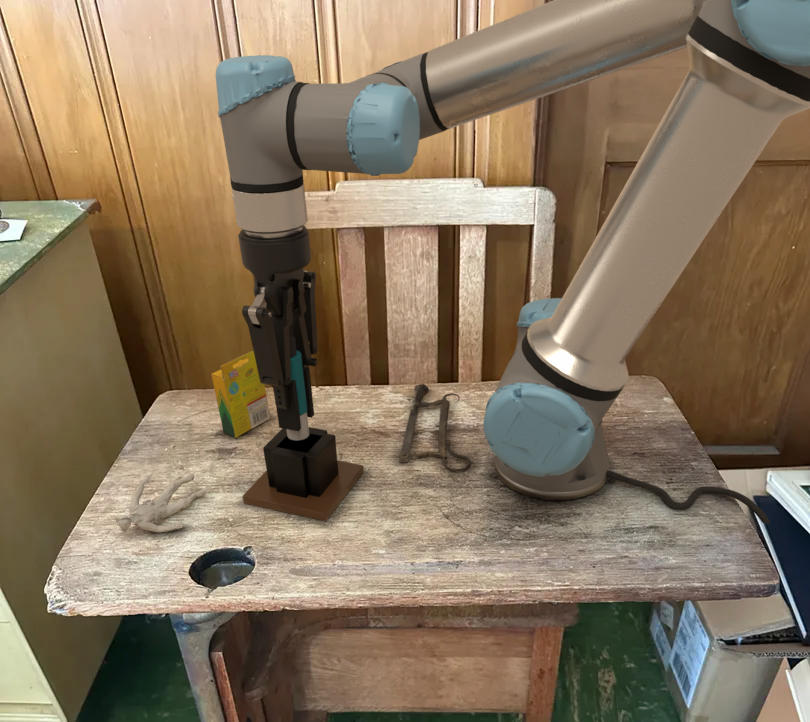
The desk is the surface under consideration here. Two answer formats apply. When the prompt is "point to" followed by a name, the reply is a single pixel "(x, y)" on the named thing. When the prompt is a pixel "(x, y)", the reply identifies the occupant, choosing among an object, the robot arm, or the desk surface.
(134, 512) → the soldier figure
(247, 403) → the crayon box
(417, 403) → the hacksaw
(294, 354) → the teal and black cylinder
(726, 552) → the desk surface
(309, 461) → the holder
